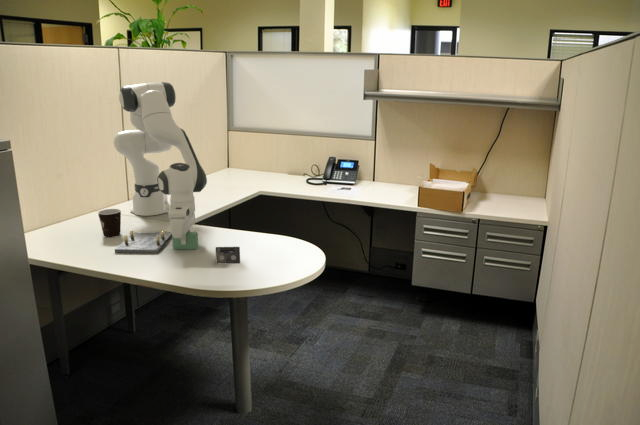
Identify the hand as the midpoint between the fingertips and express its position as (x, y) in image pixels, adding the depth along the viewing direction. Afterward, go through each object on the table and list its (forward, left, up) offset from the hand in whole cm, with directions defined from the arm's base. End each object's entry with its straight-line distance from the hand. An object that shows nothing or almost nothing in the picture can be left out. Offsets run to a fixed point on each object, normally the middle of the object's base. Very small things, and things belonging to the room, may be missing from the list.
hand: (185, 242), depth 202 cm
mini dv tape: (+15, +19, -3) cm, 24 cm away
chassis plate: (-4, -17, -2) cm, 18 cm away
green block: (0, 0, -2) cm, 2 cm away
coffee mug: (-14, -34, -3) cm, 37 cm away
